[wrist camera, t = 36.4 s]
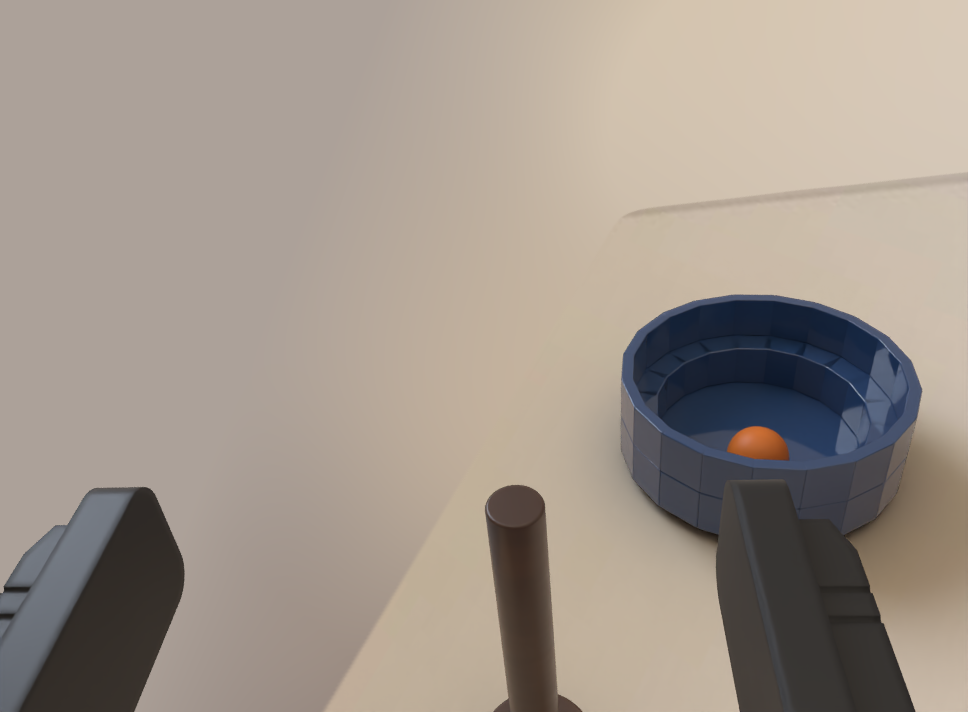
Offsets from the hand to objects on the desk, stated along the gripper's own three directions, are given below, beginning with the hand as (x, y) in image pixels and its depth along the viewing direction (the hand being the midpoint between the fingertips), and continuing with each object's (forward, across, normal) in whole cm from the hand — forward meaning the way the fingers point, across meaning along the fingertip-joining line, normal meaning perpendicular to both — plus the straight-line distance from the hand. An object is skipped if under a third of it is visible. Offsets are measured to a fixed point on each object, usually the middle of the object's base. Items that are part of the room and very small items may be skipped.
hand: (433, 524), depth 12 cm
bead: (+24, -11, +22) cm, 35 cm away
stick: (+10, 0, +24) cm, 26 cm away
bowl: (+27, -12, +24) cm, 38 cm away
